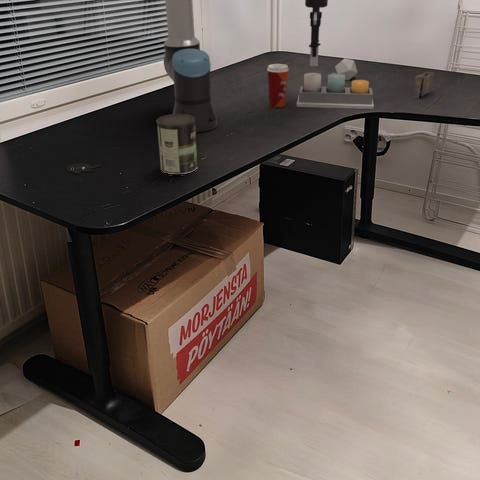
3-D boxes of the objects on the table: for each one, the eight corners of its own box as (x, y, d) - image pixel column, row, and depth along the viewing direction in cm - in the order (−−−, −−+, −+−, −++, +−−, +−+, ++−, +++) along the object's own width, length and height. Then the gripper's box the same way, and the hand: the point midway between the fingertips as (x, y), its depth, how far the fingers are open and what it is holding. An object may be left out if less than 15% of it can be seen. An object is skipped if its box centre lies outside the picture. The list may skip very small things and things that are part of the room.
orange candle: (350, 100, 216) (351, 83, 213) (350, 95, 221) (351, 79, 218) (367, 101, 215) (369, 84, 212) (367, 96, 220) (368, 79, 217)
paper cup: (286, 108, 214) (287, 68, 207) (265, 107, 215) (265, 68, 208) (289, 102, 221) (290, 63, 214) (268, 101, 222) (268, 62, 215)
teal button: (327, 94, 216) (328, 77, 213) (327, 89, 221) (328, 73, 218) (344, 94, 215) (345, 77, 212) (344, 90, 220) (345, 73, 217)
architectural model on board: (419, 100, 223) (423, 73, 218) (412, 99, 224) (415, 72, 220) (431, 93, 230) (435, 67, 226) (424, 92, 232) (427, 66, 227)
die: (360, 81, 248) (357, 58, 250) (354, 74, 241) (350, 51, 242) (341, 86, 252) (338, 64, 253) (334, 80, 244) (331, 58, 246)
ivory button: (303, 93, 217) (303, 76, 214) (304, 89, 222) (304, 72, 219) (320, 94, 216) (320, 77, 213) (320, 89, 221) (321, 73, 218)
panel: (296, 106, 216) (297, 94, 214) (298, 96, 227) (299, 84, 225) (373, 109, 212) (374, 96, 210) (372, 98, 224) (373, 86, 221)
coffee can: (197, 161, 172) (195, 112, 165) (198, 175, 163) (195, 124, 156) (160, 162, 171) (157, 114, 164) (159, 176, 162) (155, 126, 155)
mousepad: (102, 165, 171) (101, 162, 171) (97, 175, 165) (97, 173, 164) (69, 165, 171) (68, 163, 171) (63, 176, 164) (62, 174, 164)
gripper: (327, -4, 197) (324, 70, 208) (328, -9, 208) (325, 61, 220) (304, -4, 198) (302, 69, 210) (306, -9, 209) (304, 60, 221)
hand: (313, 65), depth 215 cm, fingers closed
